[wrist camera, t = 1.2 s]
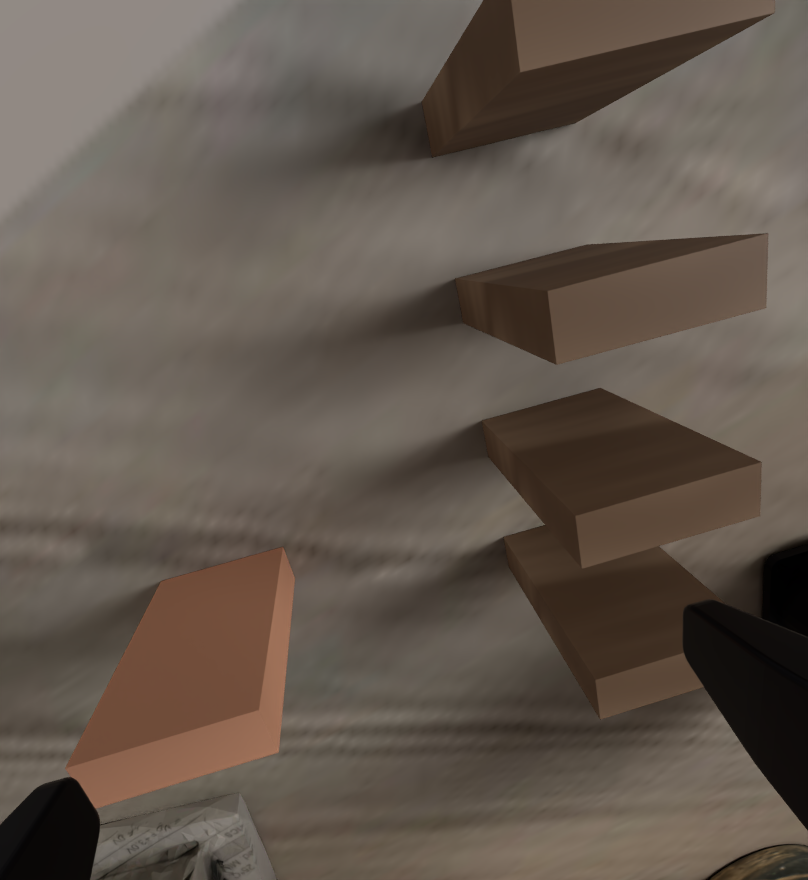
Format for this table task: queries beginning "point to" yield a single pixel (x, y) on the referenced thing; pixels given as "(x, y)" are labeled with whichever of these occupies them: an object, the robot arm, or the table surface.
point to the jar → (769, 865)
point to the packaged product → (184, 845)
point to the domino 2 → (566, 61)
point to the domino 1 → (193, 682)
